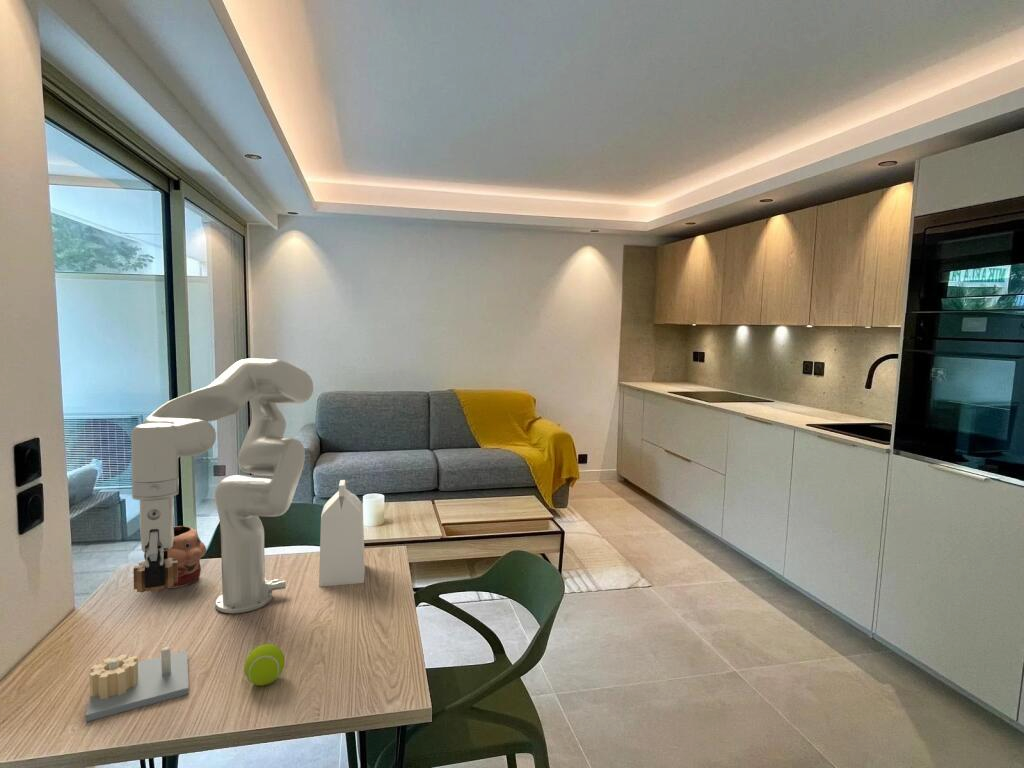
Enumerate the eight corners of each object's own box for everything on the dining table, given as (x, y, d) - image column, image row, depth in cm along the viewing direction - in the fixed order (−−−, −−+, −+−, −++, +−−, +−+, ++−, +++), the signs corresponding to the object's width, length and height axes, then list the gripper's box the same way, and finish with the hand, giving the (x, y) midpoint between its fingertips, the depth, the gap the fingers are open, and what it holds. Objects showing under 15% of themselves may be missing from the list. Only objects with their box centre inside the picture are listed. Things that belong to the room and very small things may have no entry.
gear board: (187, 656, 114) (186, 627, 113) (188, 693, 102) (187, 662, 101) (96, 678, 106) (94, 647, 105) (85, 721, 94) (84, 688, 93)
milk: (322, 568, 158) (321, 478, 156) (364, 564, 161) (364, 476, 159) (318, 586, 146) (317, 489, 144) (364, 582, 149) (363, 487, 147)
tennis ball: (246, 675, 108) (245, 640, 107) (285, 668, 110) (284, 634, 110) (243, 697, 101) (242, 660, 101) (284, 689, 104) (284, 653, 103)
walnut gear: (178, 575, 112) (178, 555, 112) (176, 588, 106) (176, 567, 106) (136, 581, 109) (135, 561, 109) (132, 595, 103) (131, 574, 103)
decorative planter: (123, 585, 145) (121, 533, 144) (164, 567, 157) (163, 518, 156) (183, 596, 139) (181, 542, 138) (221, 577, 151) (220, 527, 150)
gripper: (176, 496, 101) (177, 592, 102) (180, 477, 116) (181, 561, 117) (126, 500, 97) (128, 600, 98) (137, 480, 112) (138, 566, 113)
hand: (156, 578), depth 107 cm, fingers closed on walnut gear, 7 cm apart
